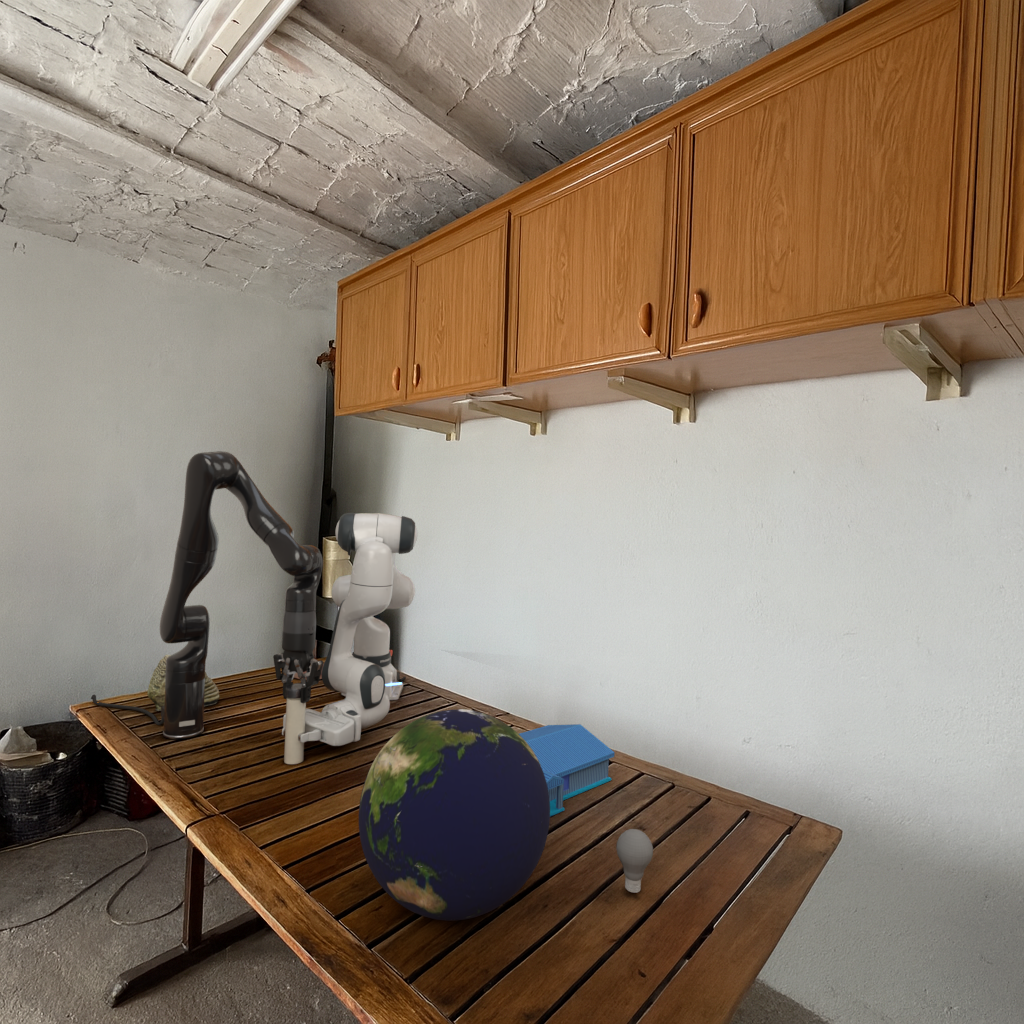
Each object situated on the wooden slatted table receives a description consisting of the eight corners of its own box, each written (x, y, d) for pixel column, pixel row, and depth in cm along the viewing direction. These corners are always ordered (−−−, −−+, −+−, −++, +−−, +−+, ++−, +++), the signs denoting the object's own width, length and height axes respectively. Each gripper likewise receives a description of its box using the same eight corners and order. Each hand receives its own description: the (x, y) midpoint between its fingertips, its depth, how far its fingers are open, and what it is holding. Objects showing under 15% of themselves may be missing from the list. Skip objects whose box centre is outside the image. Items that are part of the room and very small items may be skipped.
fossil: (144, 707, 182) (145, 655, 182) (212, 696, 194) (213, 647, 194) (151, 716, 175) (153, 662, 175) (221, 703, 188) (223, 653, 188)
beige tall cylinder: (279, 761, 150) (282, 689, 150) (294, 755, 154) (297, 685, 154) (293, 765, 148) (296, 693, 148) (307, 759, 152) (310, 688, 152)
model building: (493, 841, 119) (496, 788, 119) (420, 792, 137) (422, 747, 137) (623, 784, 145) (625, 741, 145) (547, 750, 164) (548, 712, 163)
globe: (312, 931, 92) (320, 727, 92) (418, 834, 120) (424, 677, 120) (501, 1001, 81) (511, 769, 81) (569, 876, 109) (577, 703, 108)
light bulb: (610, 879, 108) (613, 822, 108) (644, 879, 109) (647, 822, 109) (619, 902, 102) (622, 840, 102) (655, 901, 103) (658, 840, 103)
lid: (294, 700, 148) (294, 690, 148) (281, 695, 150) (281, 686, 150) (311, 695, 152) (312, 686, 152) (298, 691, 154) (299, 682, 154)
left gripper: (264, 627, 150) (262, 699, 151) (311, 635, 144) (308, 710, 145) (288, 623, 157) (285, 691, 157) (333, 630, 151) (330, 701, 151)
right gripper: (310, 699, 168) (264, 712, 156) (365, 716, 156) (321, 732, 145) (309, 723, 168) (263, 738, 156) (364, 741, 157) (319, 759, 145)
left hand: (296, 699), depth 151 cm, fingers closed on lid, 4 cm apart
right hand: (291, 735), depth 150 cm, fingers closed on beige tall cylinder, 4 cm apart
